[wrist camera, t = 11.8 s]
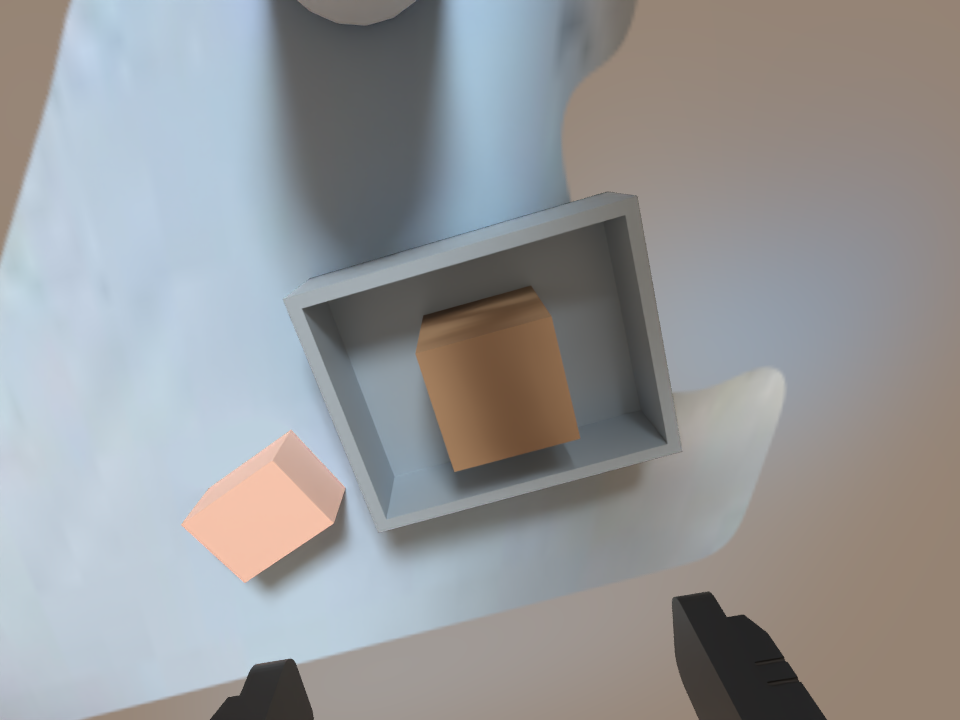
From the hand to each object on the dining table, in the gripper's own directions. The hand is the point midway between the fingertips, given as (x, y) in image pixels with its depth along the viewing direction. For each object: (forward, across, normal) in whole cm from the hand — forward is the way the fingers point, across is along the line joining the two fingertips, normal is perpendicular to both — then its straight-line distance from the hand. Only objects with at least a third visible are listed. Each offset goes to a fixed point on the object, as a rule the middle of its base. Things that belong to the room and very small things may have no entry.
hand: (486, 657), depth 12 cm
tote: (+18, -1, -1) cm, 18 cm away
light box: (+19, +12, +5) cm, 23 cm away
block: (+18, -1, -1) cm, 18 cm away
